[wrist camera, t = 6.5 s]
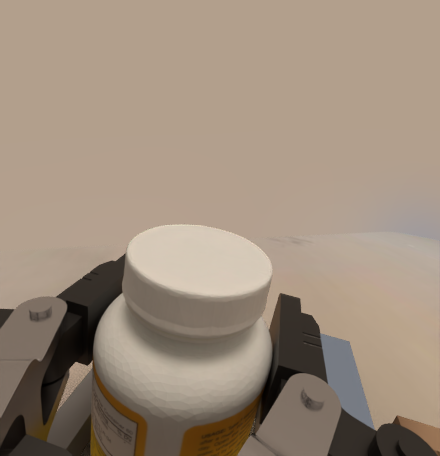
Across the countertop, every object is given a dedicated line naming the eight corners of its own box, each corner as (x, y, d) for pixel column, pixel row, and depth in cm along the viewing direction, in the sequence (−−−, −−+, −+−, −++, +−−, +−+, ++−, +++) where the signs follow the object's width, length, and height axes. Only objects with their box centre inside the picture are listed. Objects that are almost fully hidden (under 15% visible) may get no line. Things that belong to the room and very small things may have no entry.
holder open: (-54, 589, 8) (-65, 561, 7) (121, 351, 16) (123, 330, 16) (272, 753, 7) (289, 735, 6) (281, 402, 15) (288, 381, 14)
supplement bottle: (57, 549, 9) (39, 285, 5) (124, 393, 14) (136, 205, 10) (229, 582, 9) (322, 338, 5) (234, 414, 14) (283, 232, 10)
